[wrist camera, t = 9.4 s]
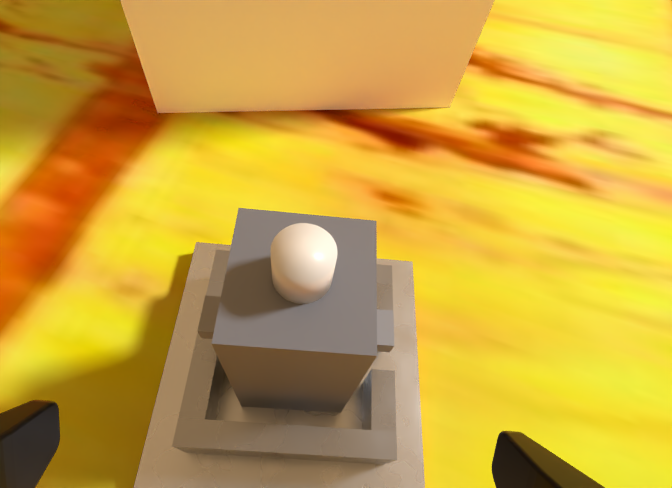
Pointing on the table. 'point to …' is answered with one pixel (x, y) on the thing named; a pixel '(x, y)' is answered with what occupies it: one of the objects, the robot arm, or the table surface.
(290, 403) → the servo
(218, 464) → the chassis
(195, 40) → the cube
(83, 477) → the table surface
